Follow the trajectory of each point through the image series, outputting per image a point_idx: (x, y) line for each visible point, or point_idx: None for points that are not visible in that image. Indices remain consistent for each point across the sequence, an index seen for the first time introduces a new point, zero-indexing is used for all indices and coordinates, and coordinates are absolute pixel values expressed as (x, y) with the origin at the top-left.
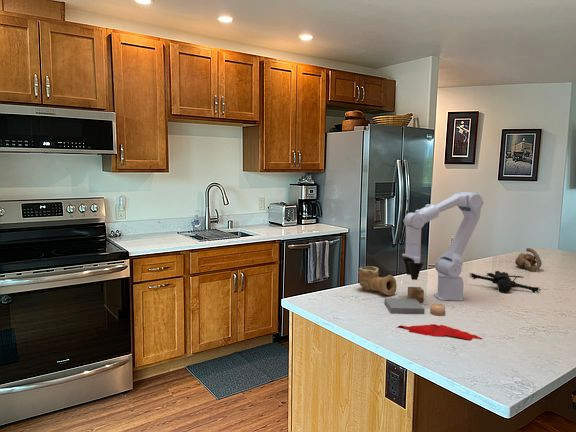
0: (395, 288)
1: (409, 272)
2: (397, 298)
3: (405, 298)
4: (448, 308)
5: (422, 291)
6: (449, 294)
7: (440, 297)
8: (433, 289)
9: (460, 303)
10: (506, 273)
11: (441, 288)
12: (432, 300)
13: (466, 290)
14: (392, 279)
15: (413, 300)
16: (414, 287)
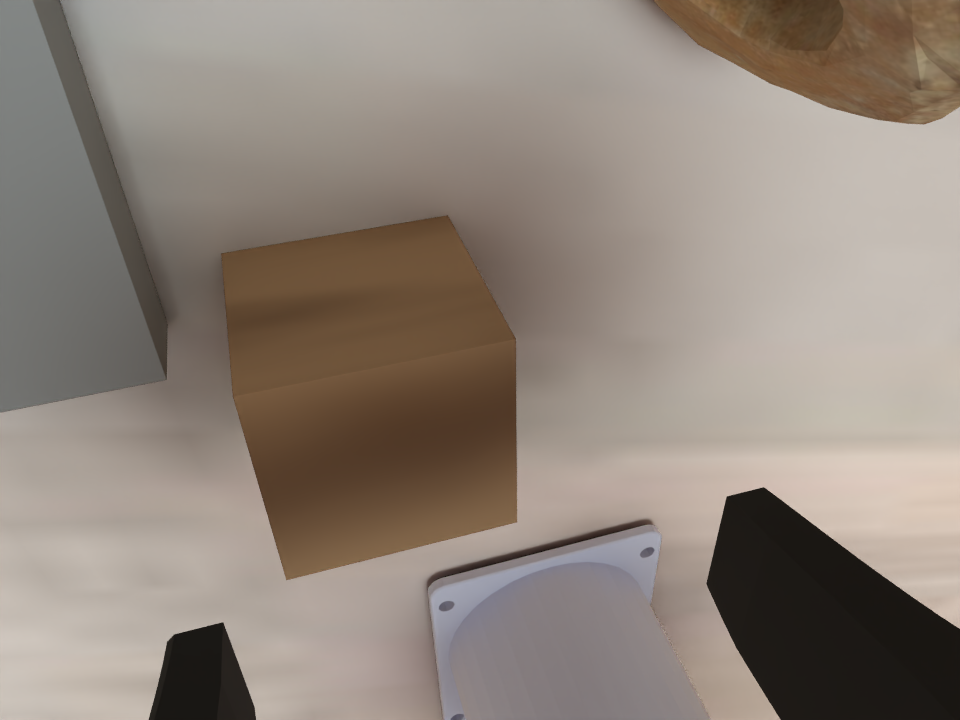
0: (733, 55)
1: (753, 588)
2: (20, 16)
3: (101, 205)
4: (94, 660)
5: (279, 548)
6: (462, 703)
7: (489, 592)
8: (843, 507)
9: (346, 717)
10: None
11: (527, 700)
12: None
13: (762, 706)
14: (858, 36)
15: (10, 345)
16: (478, 445)
